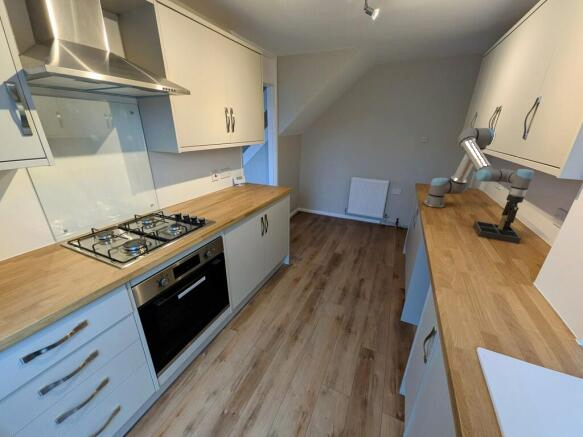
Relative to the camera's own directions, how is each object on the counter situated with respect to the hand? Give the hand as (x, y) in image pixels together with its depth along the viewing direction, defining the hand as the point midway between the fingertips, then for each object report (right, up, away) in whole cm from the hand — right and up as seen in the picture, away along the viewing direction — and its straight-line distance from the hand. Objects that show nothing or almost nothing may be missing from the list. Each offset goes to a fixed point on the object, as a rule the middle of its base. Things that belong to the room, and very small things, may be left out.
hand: (502, 229), depth 153 cm
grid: (-6, -3, -1) cm, 7 cm away
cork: (0, -2, +1) cm, 2 cm away
